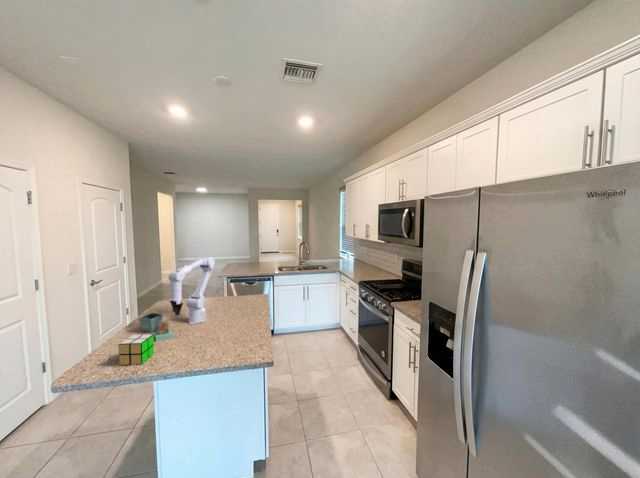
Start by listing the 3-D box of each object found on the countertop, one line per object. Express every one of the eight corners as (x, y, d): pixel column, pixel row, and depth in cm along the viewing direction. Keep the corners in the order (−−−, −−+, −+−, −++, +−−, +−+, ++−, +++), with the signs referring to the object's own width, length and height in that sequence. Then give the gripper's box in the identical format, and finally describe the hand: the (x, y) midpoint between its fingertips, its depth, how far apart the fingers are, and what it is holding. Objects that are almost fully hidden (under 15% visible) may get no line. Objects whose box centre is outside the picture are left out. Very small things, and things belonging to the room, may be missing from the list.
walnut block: (167, 330, 148) (166, 321, 148) (168, 332, 145) (168, 323, 145) (158, 332, 145) (157, 322, 145) (159, 334, 142) (159, 325, 142)
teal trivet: (170, 333, 151) (170, 328, 150) (172, 338, 144) (172, 333, 144) (154, 337, 146) (154, 332, 146) (156, 342, 139) (155, 336, 139)
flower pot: (151, 334, 149) (151, 319, 148) (138, 332, 151) (138, 317, 150) (163, 328, 157) (163, 314, 157) (151, 327, 159) (151, 313, 159)
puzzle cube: (132, 354, 125) (132, 334, 125) (154, 353, 126) (153, 334, 125) (118, 365, 115) (118, 343, 115) (141, 364, 116) (141, 343, 116)
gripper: (167, 289, 157) (167, 311, 158) (170, 294, 146) (170, 317, 146) (179, 288, 162) (179, 309, 162) (184, 292, 150) (184, 315, 151)
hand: (176, 313), depth 155 cm, fingers open, 7 cm apart
